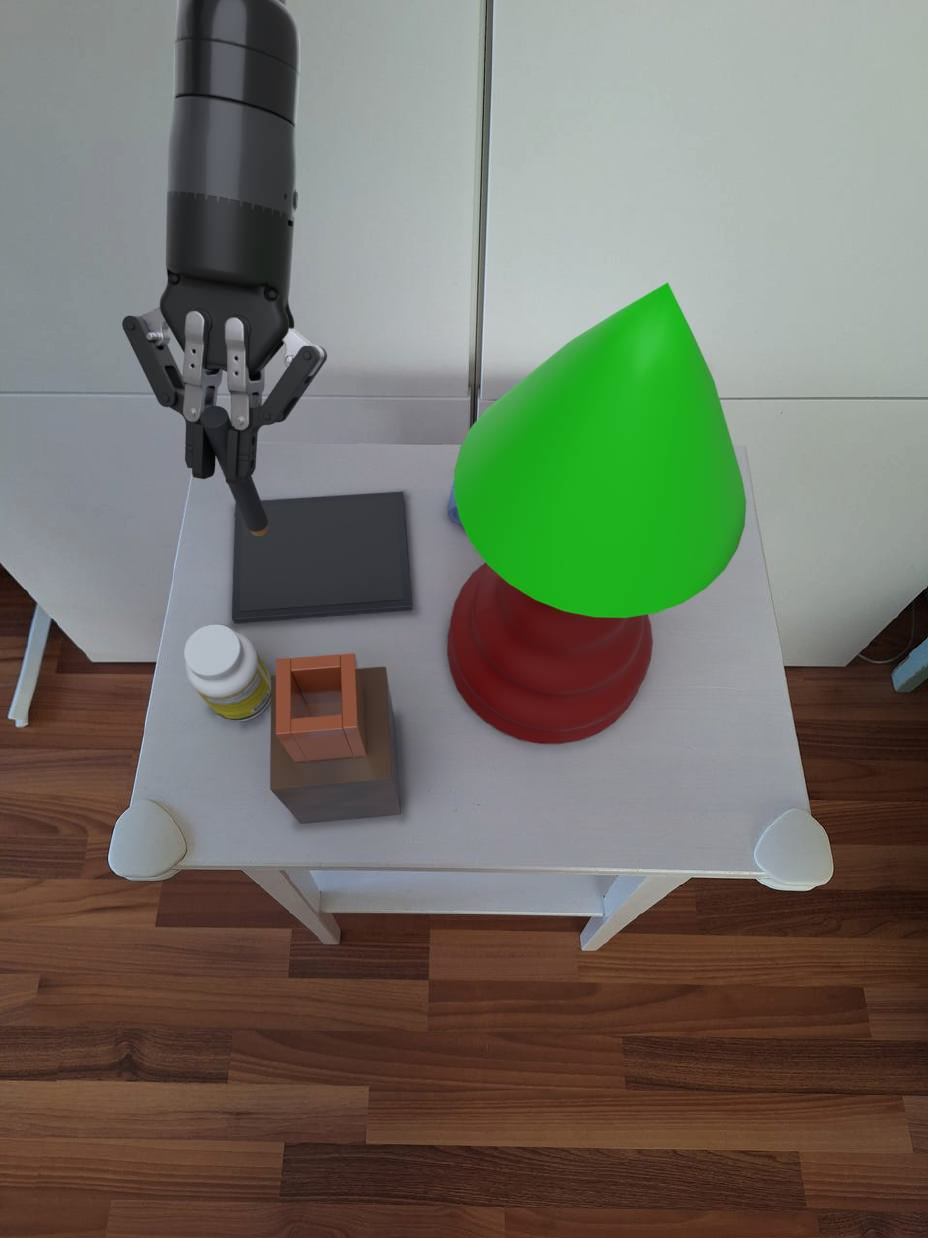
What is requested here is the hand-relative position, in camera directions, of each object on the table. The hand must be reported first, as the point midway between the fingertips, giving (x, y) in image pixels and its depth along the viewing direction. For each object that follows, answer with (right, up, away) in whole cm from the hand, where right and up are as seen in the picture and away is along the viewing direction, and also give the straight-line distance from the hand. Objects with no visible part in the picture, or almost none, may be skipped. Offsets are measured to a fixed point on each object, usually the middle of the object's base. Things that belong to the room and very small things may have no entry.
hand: (220, 478), depth 53 cm
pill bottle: (-5, -17, +21) cm, 28 cm away
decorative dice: (+17, +2, +31) cm, 36 cm away
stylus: (0, -2, +10) cm, 10 cm away
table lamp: (+25, -13, +24) cm, 37 cm away
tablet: (+2, -3, +28) cm, 28 cm away
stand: (+6, -24, +18) cm, 31 cm away
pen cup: (+7, -18, +6) cm, 20 cm away
